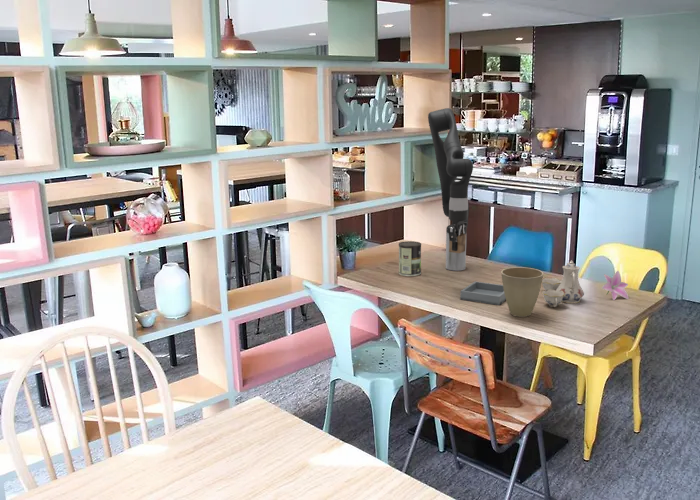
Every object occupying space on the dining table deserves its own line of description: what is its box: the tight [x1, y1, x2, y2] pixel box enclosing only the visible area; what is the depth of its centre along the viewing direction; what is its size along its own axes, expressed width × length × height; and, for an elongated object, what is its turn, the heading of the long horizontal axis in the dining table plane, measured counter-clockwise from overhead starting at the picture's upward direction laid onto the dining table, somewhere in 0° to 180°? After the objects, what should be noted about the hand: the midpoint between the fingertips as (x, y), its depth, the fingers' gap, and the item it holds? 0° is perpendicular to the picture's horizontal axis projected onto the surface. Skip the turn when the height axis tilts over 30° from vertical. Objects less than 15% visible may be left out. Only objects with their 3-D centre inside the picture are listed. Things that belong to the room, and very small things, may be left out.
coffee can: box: [398, 240, 422, 277], centre depth 301 cm, size 10×10×14 cm
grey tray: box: [459, 280, 506, 306], centre depth 265 cm, size 16×16×4 cm
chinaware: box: [541, 259, 585, 308], centre depth 259 cm, size 28×17×17 cm, turn 171°
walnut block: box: [449, 233, 467, 253], centre depth 271 cm, size 5×5×7 cm
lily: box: [601, 270, 630, 301], centre depth 263 cm, size 12×12×10 cm
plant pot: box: [500, 266, 544, 318], centre depth 243 cm, size 15×15×16 cm
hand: (457, 249), depth 271 cm, fingers closed on walnut block, 5 cm apart
